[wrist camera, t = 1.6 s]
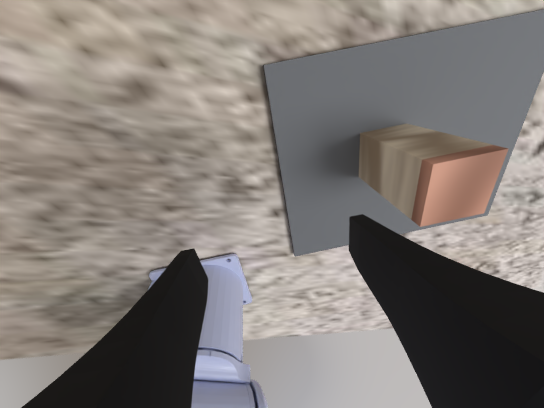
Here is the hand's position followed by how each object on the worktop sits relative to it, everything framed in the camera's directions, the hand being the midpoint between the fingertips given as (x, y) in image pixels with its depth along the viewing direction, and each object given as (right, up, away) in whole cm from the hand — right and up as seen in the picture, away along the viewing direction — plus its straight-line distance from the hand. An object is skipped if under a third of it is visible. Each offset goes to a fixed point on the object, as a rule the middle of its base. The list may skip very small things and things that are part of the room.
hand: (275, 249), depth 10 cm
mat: (+11, +7, +10) cm, 16 cm away
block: (+9, +7, +9) cm, 15 cm away
